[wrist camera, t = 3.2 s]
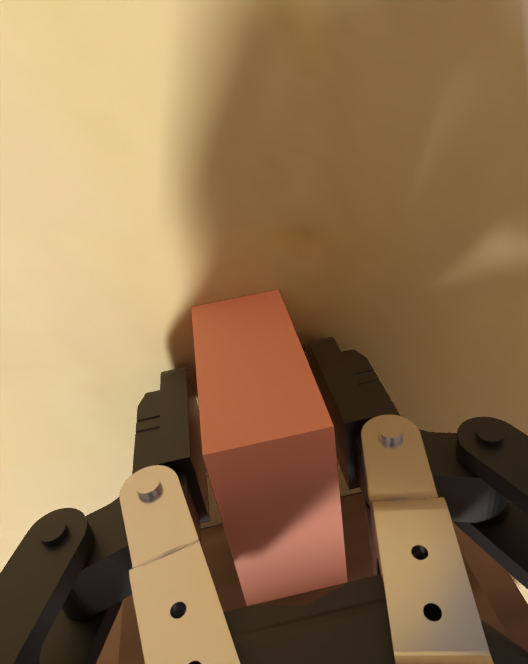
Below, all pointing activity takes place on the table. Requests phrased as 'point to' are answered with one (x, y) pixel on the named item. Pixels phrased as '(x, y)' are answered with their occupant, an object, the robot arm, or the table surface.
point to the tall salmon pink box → (268, 448)
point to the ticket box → (482, 570)
